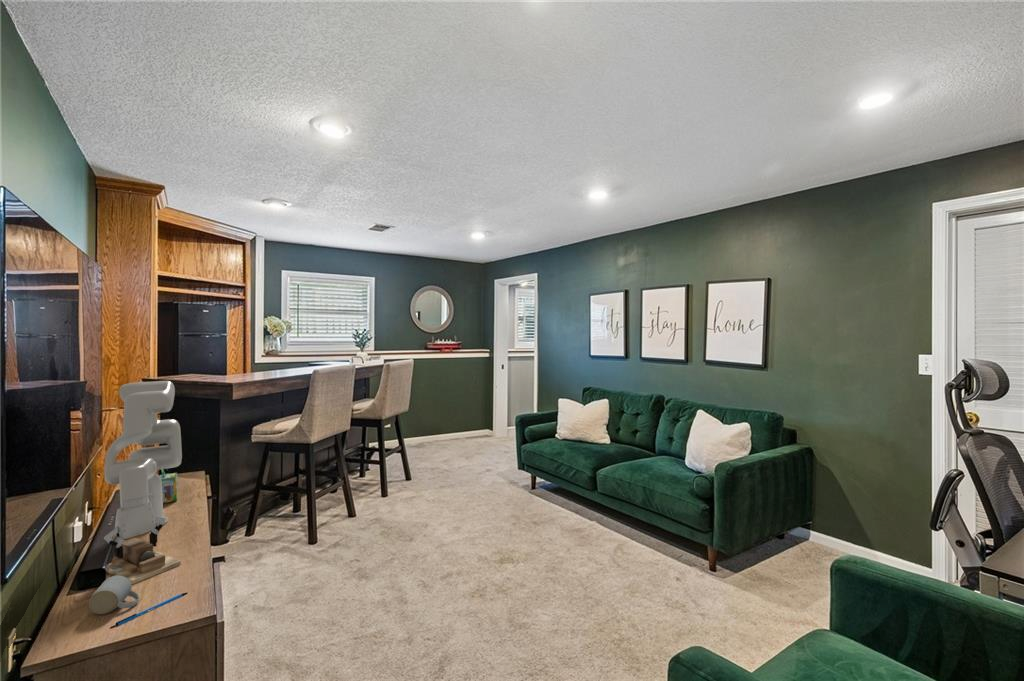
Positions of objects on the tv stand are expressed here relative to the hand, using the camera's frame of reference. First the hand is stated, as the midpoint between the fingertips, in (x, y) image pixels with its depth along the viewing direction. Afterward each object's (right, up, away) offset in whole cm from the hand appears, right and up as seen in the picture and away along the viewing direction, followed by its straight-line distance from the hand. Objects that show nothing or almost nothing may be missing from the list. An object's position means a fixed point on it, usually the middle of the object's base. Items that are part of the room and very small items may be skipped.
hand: (136, 551), depth 162 cm
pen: (+25, -6, -26) cm, 36 cm away
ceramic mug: (+13, -6, -24) cm, 28 cm away
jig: (+3, -5, -1) cm, 5 cm away
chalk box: (-35, -4, +61) cm, 71 cm away
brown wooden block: (0, -3, 0) cm, 3 cm away
